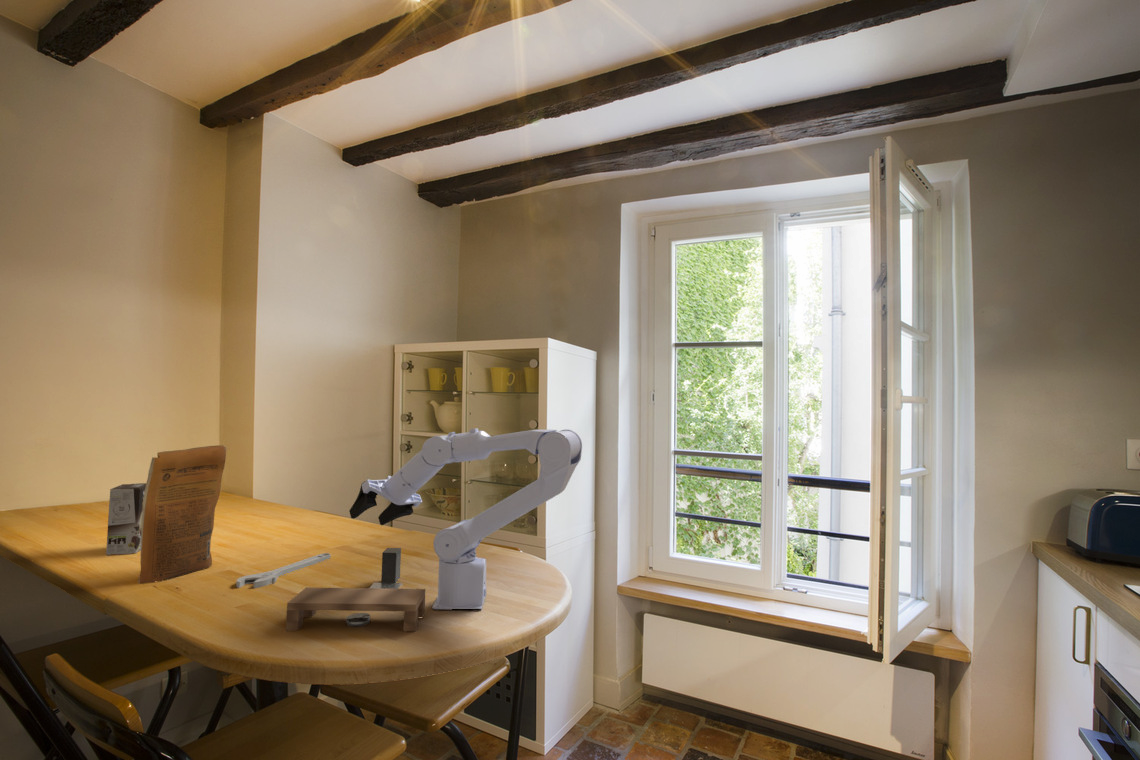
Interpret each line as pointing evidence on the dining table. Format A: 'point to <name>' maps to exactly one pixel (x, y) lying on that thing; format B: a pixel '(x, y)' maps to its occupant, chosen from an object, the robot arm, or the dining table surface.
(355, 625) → the steel disc
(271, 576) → the adjustable wrench
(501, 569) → the dining table surface
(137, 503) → the coffee box
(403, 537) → the dining table surface
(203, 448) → the pancake mix bag
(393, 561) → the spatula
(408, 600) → the walnut shelf
